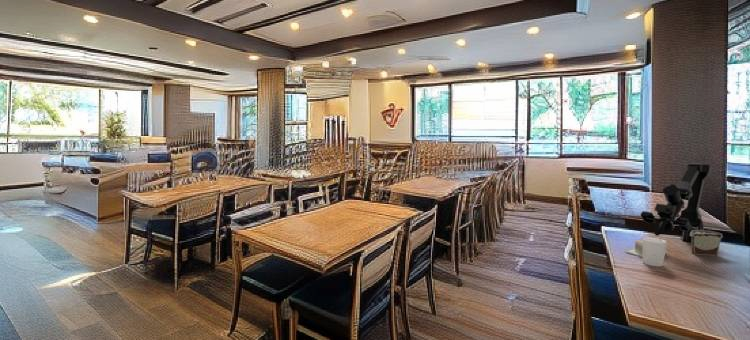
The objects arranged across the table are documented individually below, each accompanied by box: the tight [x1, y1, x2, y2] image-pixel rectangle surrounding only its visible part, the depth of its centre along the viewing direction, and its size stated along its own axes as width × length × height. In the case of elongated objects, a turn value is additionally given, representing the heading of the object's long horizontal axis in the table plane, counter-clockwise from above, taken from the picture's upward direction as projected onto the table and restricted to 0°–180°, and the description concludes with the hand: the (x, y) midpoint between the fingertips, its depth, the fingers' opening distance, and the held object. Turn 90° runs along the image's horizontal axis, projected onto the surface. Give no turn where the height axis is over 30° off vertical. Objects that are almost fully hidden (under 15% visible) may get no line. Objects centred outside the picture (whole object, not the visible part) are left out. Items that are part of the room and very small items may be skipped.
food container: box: [690, 229, 724, 256], centre depth 170 cm, size 12×6×10 cm, turn 84°
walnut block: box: [634, 238, 643, 254], centre depth 170 cm, size 5×5×12 cm
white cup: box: [642, 237, 668, 267], centre depth 155 cm, size 8×8×10 cm
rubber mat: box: [625, 248, 667, 258], centre depth 169 cm, size 14×9×1 cm, turn 115°
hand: (656, 234), depth 171 cm, fingers closed
